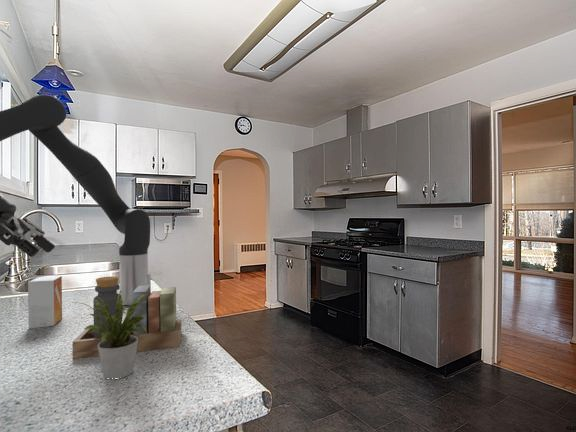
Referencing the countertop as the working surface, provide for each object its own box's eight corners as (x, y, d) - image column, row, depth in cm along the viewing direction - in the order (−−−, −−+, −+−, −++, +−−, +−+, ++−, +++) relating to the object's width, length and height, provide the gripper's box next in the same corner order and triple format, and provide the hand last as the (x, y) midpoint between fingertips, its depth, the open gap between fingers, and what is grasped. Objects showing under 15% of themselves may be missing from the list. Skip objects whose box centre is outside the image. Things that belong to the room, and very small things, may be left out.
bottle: (93, 348, 76) (92, 281, 75) (94, 339, 81) (93, 277, 81) (122, 343, 78) (121, 279, 78) (121, 335, 83) (121, 275, 83)
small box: (54, 326, 95) (54, 280, 95) (27, 328, 93) (27, 281, 93) (63, 317, 103) (62, 275, 103) (38, 320, 101) (37, 277, 101)
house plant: (59, 403, 56) (57, 304, 56) (74, 368, 68) (73, 288, 68) (152, 384, 61) (151, 294, 61) (150, 355, 74) (149, 281, 74)
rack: (72, 358, 73) (71, 297, 73) (87, 341, 83) (86, 288, 83) (179, 346, 79) (178, 290, 79) (181, 332, 88) (180, 282, 88)
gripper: (-22, 190, 70) (43, 242, 73) (13, 193, 84) (68, 237, 87) (-53, 216, 69) (16, 268, 72) (-11, 215, 82) (45, 259, 86)
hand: (44, 251), depth 79 cm, fingers open, 8 cm apart
